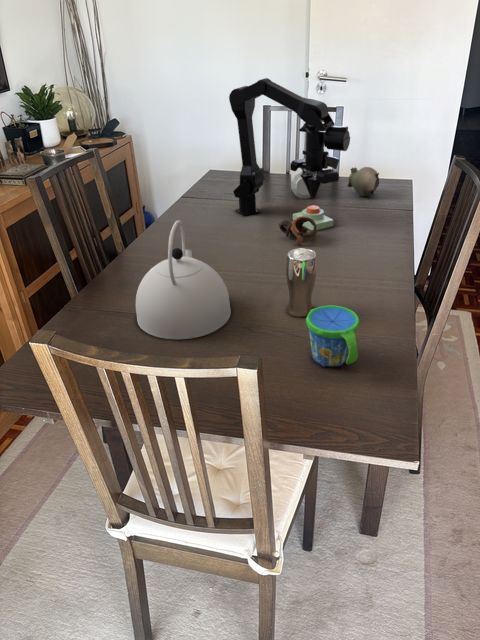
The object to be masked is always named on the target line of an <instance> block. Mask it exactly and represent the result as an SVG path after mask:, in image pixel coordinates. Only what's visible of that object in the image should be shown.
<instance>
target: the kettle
mask: <svg viewBox="0 0 480 640" xmlns="http://www.w3.org/2000/svg"><path fill="white" fill-rule="evenodd" d="M178 226H179V230H180V236H181V248H179V247H174V248H173V243H174V236H175V232H176V230H177V227H178ZM167 246H168V247H167V259H164V260H161V261H160V262H158V263H156V264H155V265H154V266H153V267H151V268H150V269H149V270H148V271H147V273H146V274H144V276H143V278H142V279H141V282H140V283H139V285H138V288H137V291H136V295H135V314H136V321H137V324H138V326H139V328H140V329H141V330H142V331H144V332H145V333H147V334H148V335H150V336H153V337H156V338H160V339H166V340H189V339H190V340H191V339H195V338H196V339H197V338H199V337H204V336H206V335H210V334H212V333H214V332H216V331H217V330H219V329H220V328H222V327H223V326H224V325H226V324H227V322H228V321H229V319H230V317H231V314H232V312H231V311H232V310H231V304H230V296H229V292H228V291H229V290H228V287H227V286H226V284H225V282H224V280H223V278H222V277H221V276H220V274H219V273H218V272H217V271H216V270H215V269H214V268H212V267H211V266H210V265H208V264H207V263H205V262H203V261H201V260H199V259H196V258H194V257H193V252H192V250H193V249H186V248H187V247H186V246H187V245H186V234H185V227H184V224H183V222H182V221H181V220H180V219H178V220H175V222H174V223H173V225H172V227H171V229H170V232H169V237H168V245H167Z"/></svg>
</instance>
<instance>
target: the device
mask: <svg viewBox="0 0 480 640" xmlns="http://www.w3.org/2000/svg"><path fill="white" fill-rule="evenodd" d="M303 158H304V159H305V156H304V157H303ZM301 174H302V170H301V168H298V169H297V171H292V170H291V171H290V188H291V191H292V193H293V194H294V196H296V197H298V198H299V199H301V200H302V199H305V200H306V199H310V198H311V196H310V194H309V192H308V189H307V187H306V185H305V183H304V181H303V179H302V177H301V176H300V175H301Z"/></svg>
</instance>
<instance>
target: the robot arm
mask: <svg viewBox="0 0 480 640" xmlns="http://www.w3.org/2000/svg"><path fill="white" fill-rule="evenodd" d="M261 96H265V97H266V98H268V99H270V100H272V101H274V102H275V103H278V104H280V105H281V106H283V107H285V108H286V109H289V110H290V111H293V112H294V113H295V114H296V115H297V116H298V118H299V119H300V120H302V122H304V124H303V125H302V126H301V128H299V129H298V131H299V132H302V133H305V148H304V150H302V155H304V157H305V159H304V157H303V158H299V159H298V158H297V159H294V160H293V159H292V161H291V162H290V164H289V165H290V168H289V169H290V171H291V172H292V171H297V169H298V168H301V170H302V174H301V175H300V176H301V177H302V179H303V181H304V183H305V185H306V187H307V189H308V192H309V194H310V196H311V197H310V198H311V199H315V198H316V196H317V193H318V190H319V188H320V186H321V184H323V185H324V184H325V185H326V184H330V183H335V182H339V181H340V173H339V172H338V171H336V170H337V168H338V166H339V162H340V158H338V157H335V156H332V155H330V154H329V151H327V150H333V151H340V152H347V151H348V150H349V147H350V142H351V136H350V131H349V126H348V125H341V126H340V125H336V124H335V122H334V120H333V119H332V116H331V115H330V113H329V108H328V105H327V104H326V103H325V102H323V101H320V100H317V99H314V98H306V97H303V96H301V95H299V94H297V93H295V92H293V91H291V90H290V89H288V88H286V87H284V86H282V85H280V84H278V83H276V82H274V81H272V80H271V79H270V78H268V77H265V78H262V79H261V78H260V79H259V80H257V81H256V82H254V83H252V84H250V85H244V86H243V85H242V86H241V87H237V88H233V89H232V90H231V92H229V95H228V101H229V105H230V108H231V109H230V110H231V112H232V113H233V115H234V117H235V119H236V121H237V131H238V137H239V138H238V139H239V147H240V156H241V165H242V166H241V169H240V173H239V184H238V186H237V187H236V188H234V190H233V195H234V198H238V208H235V212H237V213H238V214H240V215H242V216H243V217H246V216H251V215H255V214H259V213H261V212H260V210H258V209H257V205H256V204H257V201H256V194H257V193H258V192H259V191H260V188H262V187H263V186H264V181H265V180H266V178H265V175H264V174H265V169H264V167H260V166H259V164H258V161H257V153H256V152H257V151H256V144H255V143H256V142H255V133H254V124H253V115H254V111H255V108H256V99H257V98H259V97H261ZM325 148H326V149H327V150H325ZM332 168H333V169H332Z"/></svg>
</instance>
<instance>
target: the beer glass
mask: <svg viewBox="0 0 480 640" xmlns="http://www.w3.org/2000/svg"><path fill="white" fill-rule="evenodd" d="M286 255H287V257H286V264H285V265H286V266H285V267H286V269H285V271H286V274H285V275H286V276H285V277H286V284H287V288H288V294H289V295H288V297H289V299H288V300H289V301H288V304H287V312H288V314H289V315H291V316H294V317H297V318H304V317H307V316H308V314H309V312H310V311H311V310H312V309H313V304H312V297H313V292H314V291H313V290H314V287H315V282H316V277H317V253H316V252H315V251H314V250H312V249H309V248H305V247H304V248H303V247H301V248H300V247H299V248H294V249H291V250H289V251H288V252H287V254H286Z"/></svg>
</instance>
